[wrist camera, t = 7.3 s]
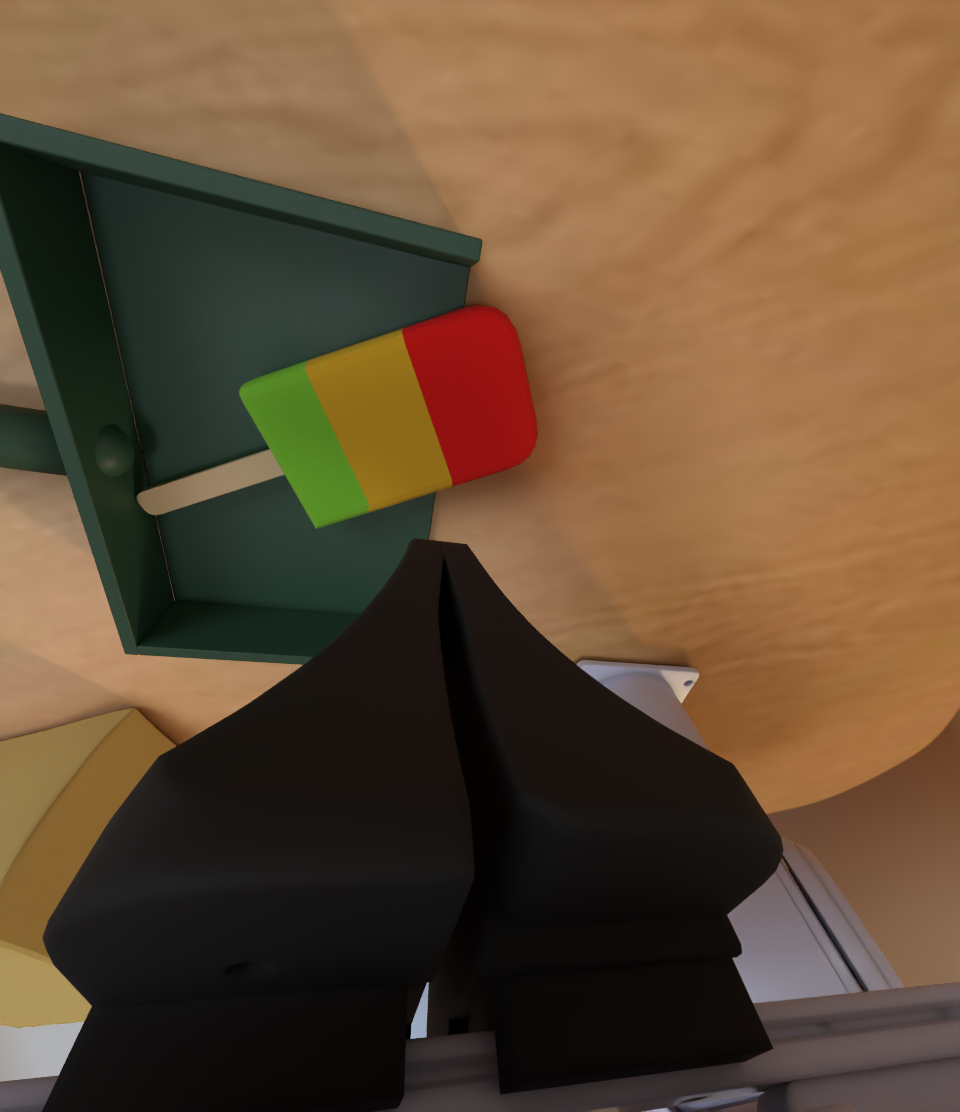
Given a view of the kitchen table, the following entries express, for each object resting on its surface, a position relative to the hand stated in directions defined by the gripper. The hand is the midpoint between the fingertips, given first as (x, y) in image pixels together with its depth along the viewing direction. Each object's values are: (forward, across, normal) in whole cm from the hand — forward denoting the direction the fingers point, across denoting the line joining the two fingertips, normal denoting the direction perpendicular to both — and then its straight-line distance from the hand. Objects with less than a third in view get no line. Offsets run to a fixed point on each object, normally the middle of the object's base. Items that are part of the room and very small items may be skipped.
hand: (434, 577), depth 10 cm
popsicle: (+8, +4, 0) cm, 9 cm away
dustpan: (+9, +10, +1) cm, 13 cm away
